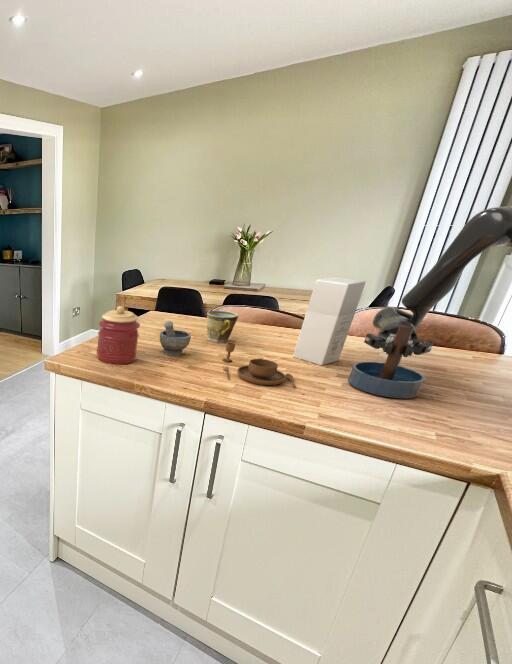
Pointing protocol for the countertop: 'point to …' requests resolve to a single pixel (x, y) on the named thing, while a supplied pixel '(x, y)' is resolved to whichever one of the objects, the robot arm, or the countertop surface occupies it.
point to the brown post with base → (396, 352)
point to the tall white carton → (328, 319)
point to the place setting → (258, 370)
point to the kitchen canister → (118, 336)
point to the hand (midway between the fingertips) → (398, 351)
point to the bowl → (386, 380)
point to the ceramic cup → (220, 325)
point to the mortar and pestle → (173, 340)
